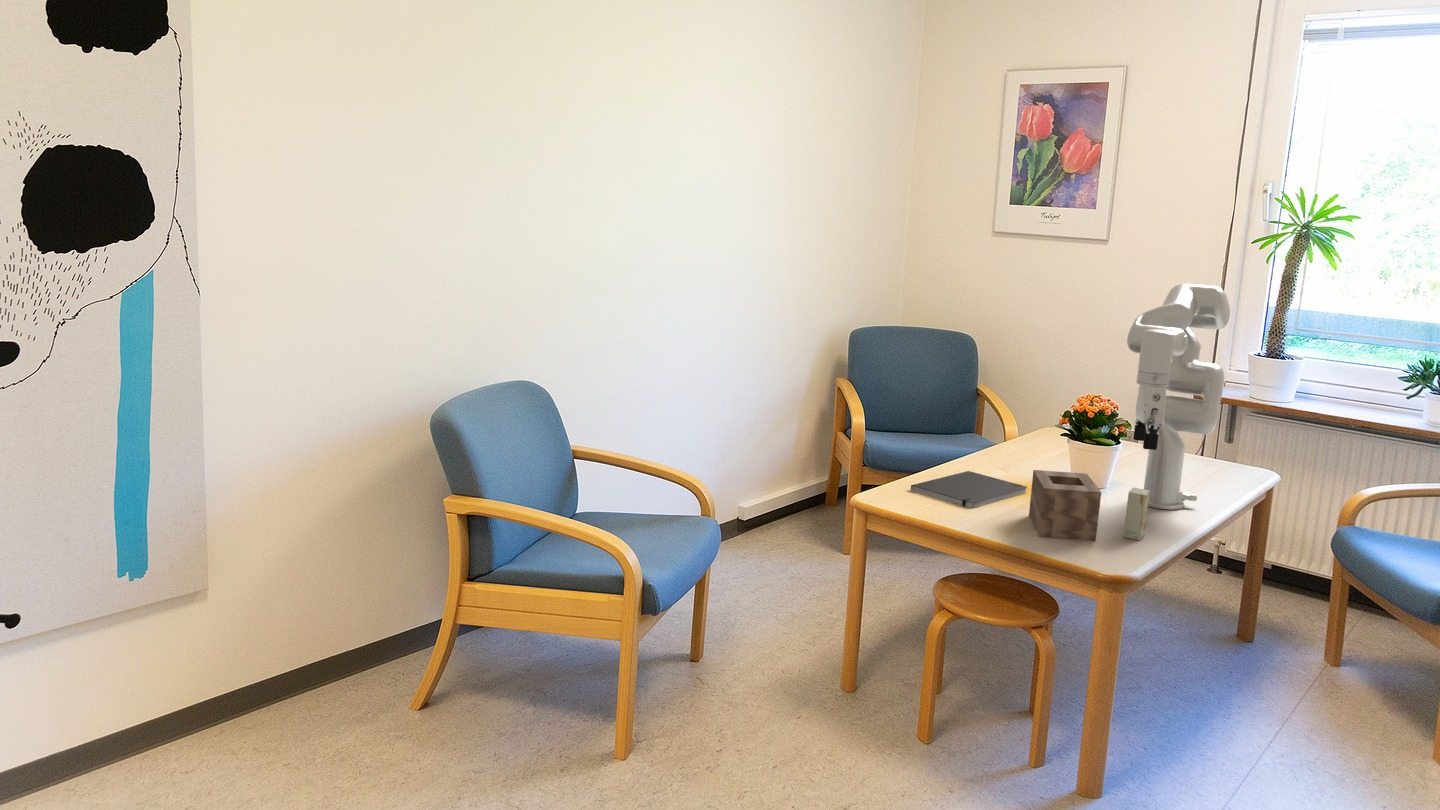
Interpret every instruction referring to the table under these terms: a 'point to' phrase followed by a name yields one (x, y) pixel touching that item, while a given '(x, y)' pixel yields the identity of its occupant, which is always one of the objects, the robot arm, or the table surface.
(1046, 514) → the socket block
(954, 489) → the notebook
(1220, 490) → the table surface
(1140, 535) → the skincare box
